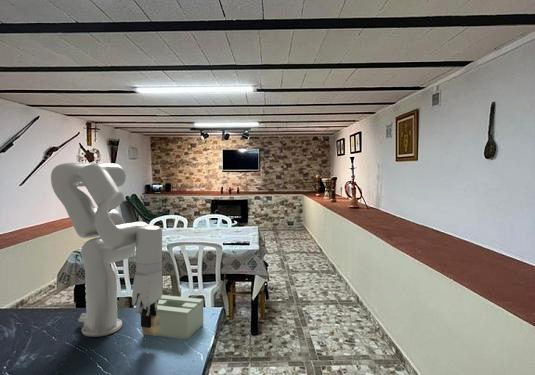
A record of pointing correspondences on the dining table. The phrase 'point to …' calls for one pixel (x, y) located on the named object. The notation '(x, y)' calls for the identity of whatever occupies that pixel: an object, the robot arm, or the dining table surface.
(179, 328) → the box
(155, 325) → the block
